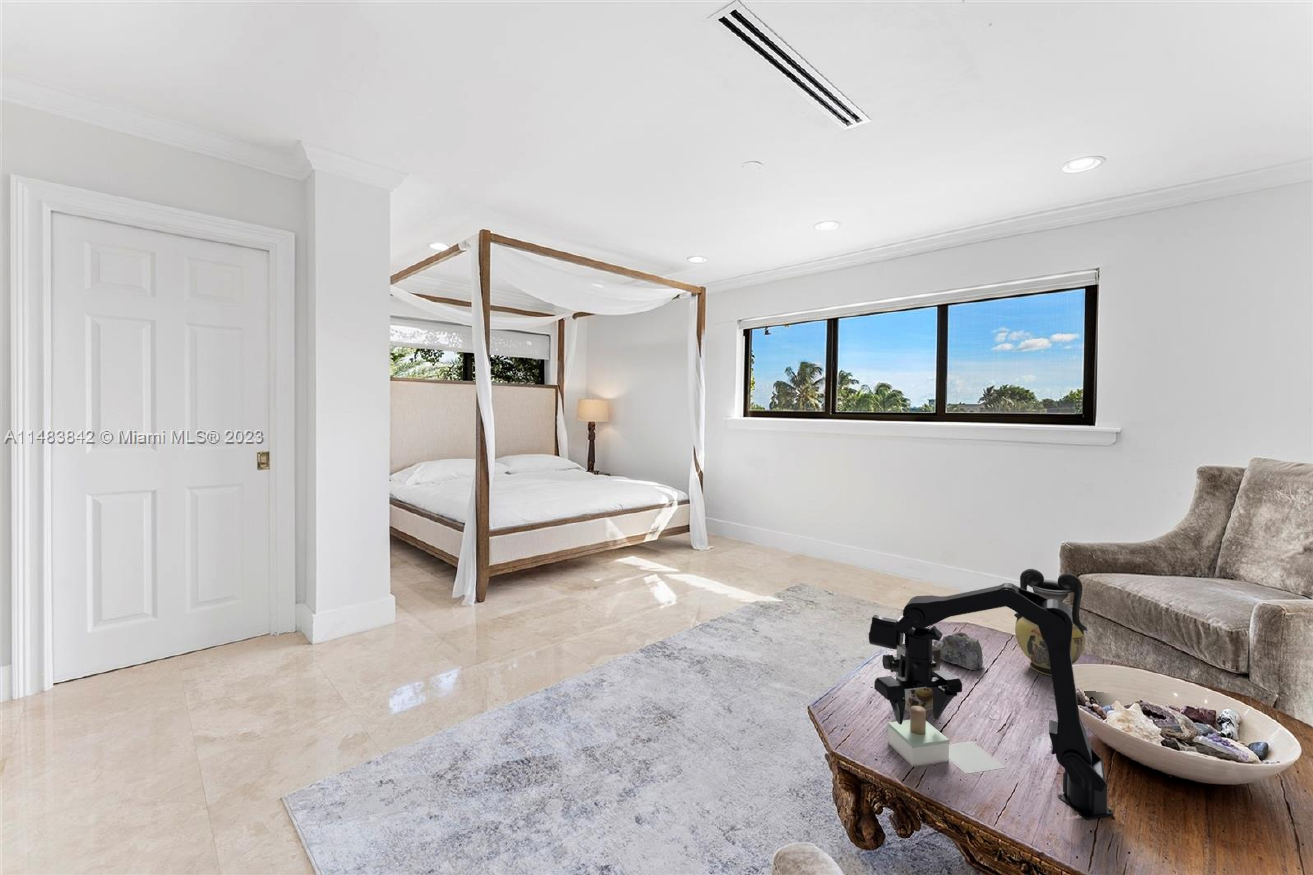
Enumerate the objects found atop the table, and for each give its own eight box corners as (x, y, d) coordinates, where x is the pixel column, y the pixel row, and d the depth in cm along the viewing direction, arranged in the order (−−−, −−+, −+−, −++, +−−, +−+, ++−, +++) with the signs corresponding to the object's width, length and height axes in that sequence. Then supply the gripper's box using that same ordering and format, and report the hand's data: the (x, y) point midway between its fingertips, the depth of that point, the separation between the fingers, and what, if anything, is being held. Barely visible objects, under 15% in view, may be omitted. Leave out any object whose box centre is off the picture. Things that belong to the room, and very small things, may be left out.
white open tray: (948, 763, 125) (949, 743, 125) (912, 768, 123) (912, 748, 123) (922, 739, 134) (922, 721, 134) (888, 744, 132) (888, 725, 132)
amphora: (1015, 675, 165) (1017, 574, 164) (1011, 653, 180) (1013, 560, 178) (1090, 689, 156) (1092, 582, 155) (1080, 664, 171) (1082, 567, 170)
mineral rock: (927, 656, 178) (928, 625, 178) (955, 652, 181) (955, 621, 181) (960, 674, 166) (960, 641, 166) (989, 669, 169) (989, 636, 168)
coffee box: (911, 715, 144) (912, 654, 143) (894, 703, 151) (895, 644, 150) (941, 710, 147) (941, 649, 146) (923, 698, 153) (923, 639, 152)
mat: (1005, 769, 123) (1005, 767, 122) (965, 775, 121) (965, 773, 121) (971, 742, 132) (971, 741, 132) (934, 748, 130) (934, 746, 130)
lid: (949, 743, 125) (949, 717, 124) (912, 748, 123) (912, 722, 123) (922, 721, 134) (922, 697, 133) (888, 725, 132) (888, 701, 132)
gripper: (931, 636, 137) (930, 698, 138) (861, 643, 134) (860, 707, 134) (964, 655, 126) (963, 723, 127) (889, 664, 123) (888, 733, 123)
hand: (917, 721), depth 128 cm, fingers open, 9 cm apart
